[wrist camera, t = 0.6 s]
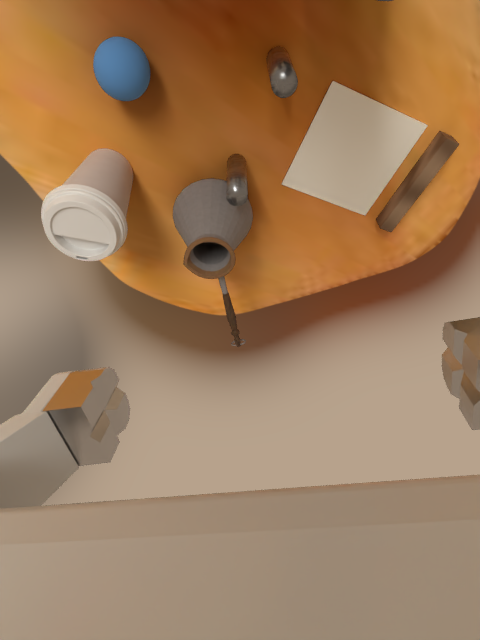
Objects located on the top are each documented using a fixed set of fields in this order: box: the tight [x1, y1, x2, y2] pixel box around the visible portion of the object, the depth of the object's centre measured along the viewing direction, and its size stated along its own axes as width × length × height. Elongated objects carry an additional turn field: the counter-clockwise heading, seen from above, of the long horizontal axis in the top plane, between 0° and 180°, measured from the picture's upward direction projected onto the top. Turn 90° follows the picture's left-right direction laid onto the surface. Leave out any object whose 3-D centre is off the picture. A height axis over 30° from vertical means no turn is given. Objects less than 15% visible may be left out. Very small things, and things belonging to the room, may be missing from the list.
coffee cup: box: [41, 149, 133, 261], centre depth 50 cm, size 10×10×15 cm
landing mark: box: [282, 81, 428, 216], centre depth 54 cm, size 14×14×1 cm
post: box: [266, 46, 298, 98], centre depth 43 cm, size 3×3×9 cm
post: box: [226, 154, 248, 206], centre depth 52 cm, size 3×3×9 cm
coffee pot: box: [173, 178, 253, 347], centre depth 58 cm, size 21×12×15 cm, turn 13°
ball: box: [93, 37, 150, 101], centre depth 44 cm, size 6×6×6 cm
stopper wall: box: [376, 131, 459, 232], centre depth 56 cm, size 14×2×2 cm, turn 159°
